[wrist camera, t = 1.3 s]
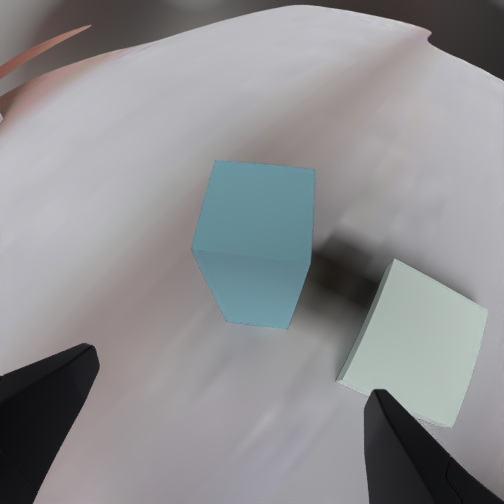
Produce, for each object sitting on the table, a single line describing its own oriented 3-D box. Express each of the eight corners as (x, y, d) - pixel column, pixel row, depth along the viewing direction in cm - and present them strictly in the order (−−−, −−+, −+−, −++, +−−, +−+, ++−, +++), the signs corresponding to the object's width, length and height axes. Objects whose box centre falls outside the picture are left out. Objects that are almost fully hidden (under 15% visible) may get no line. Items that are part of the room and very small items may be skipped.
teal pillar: (287, 329, 22) (310, 262, 11) (226, 321, 22) (191, 249, 12) (293, 272, 24) (314, 169, 13) (236, 265, 24) (214, 160, 14)
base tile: (439, 426, 18) (452, 427, 16) (335, 381, 20) (342, 380, 18) (475, 317, 21) (488, 310, 19) (385, 268, 24) (394, 258, 22)
